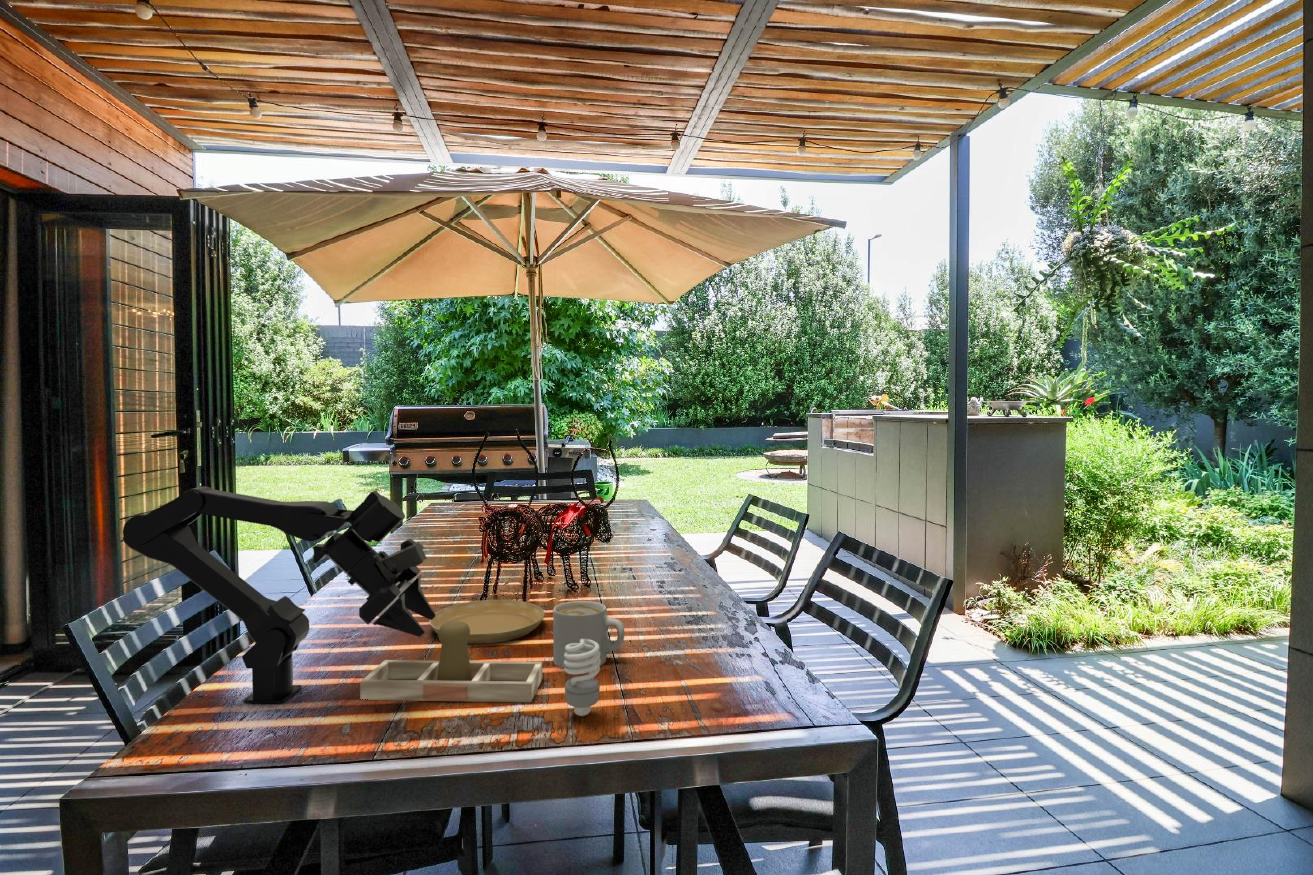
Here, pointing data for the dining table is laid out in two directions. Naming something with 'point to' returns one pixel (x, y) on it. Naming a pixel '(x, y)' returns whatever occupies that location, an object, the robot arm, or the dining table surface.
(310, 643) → the dining table surface
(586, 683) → the light bulb
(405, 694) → the rack
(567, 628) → the coffee mug
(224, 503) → the robot arm
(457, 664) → the olive chess pawn
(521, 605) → the plant saucer
